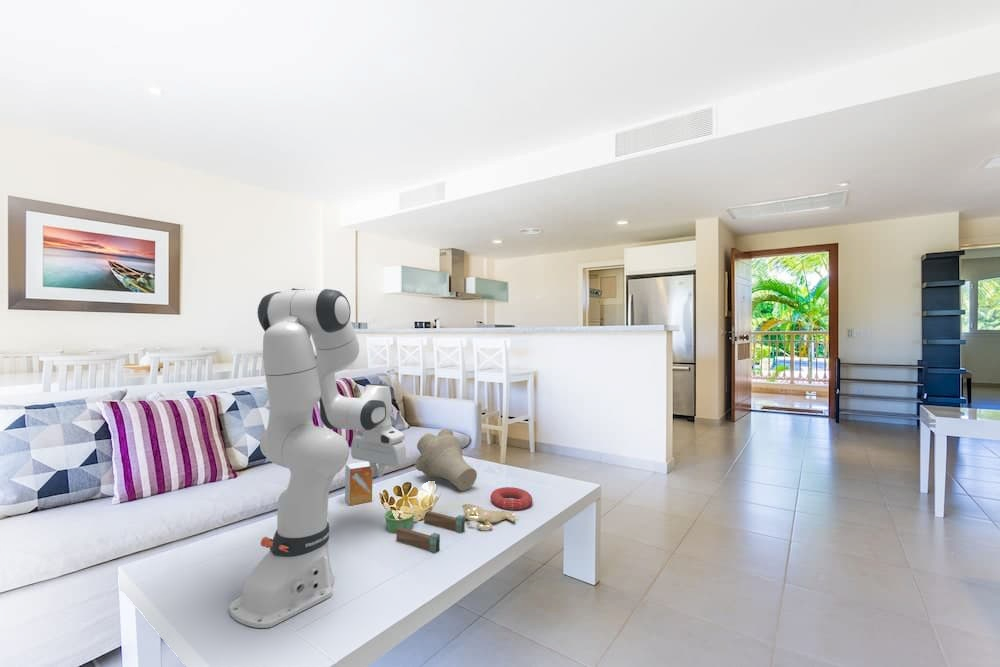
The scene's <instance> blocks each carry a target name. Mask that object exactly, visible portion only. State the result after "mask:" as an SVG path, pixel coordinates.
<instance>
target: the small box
mask: <svg viewBox="0 0 1000 667" xmlns="http://www.w3.org/2000/svg"><path fill="white" fill-rule="evenodd" d="M344 476H345V481H344V500H345V502H346V503H347V504H348V506H354V505H359V504H364V503H365V504H366V503H372V501H373V475H372V469H371V467H370V465H369V462H368V461H359V462H353V463H346V464H345V475H344Z"/></svg>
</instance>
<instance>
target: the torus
mask: <svg viewBox="0 0 1000 667" xmlns="http://www.w3.org/2000/svg"><path fill="white" fill-rule="evenodd" d="M490 501H491V502H492V504H493V505H495V506H496V507H498V508H500V509H504V510H509V511H522V510H525V509H528V508H529V507H531V505H532V504H533V497H532V495H531V493H529V492H528V491H526V490H524V489H522V488H517V487H511V486H506V487H505V486H504V487H498V488H496V489H494V490H493V491H492V492H491V494H490Z"/></svg>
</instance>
